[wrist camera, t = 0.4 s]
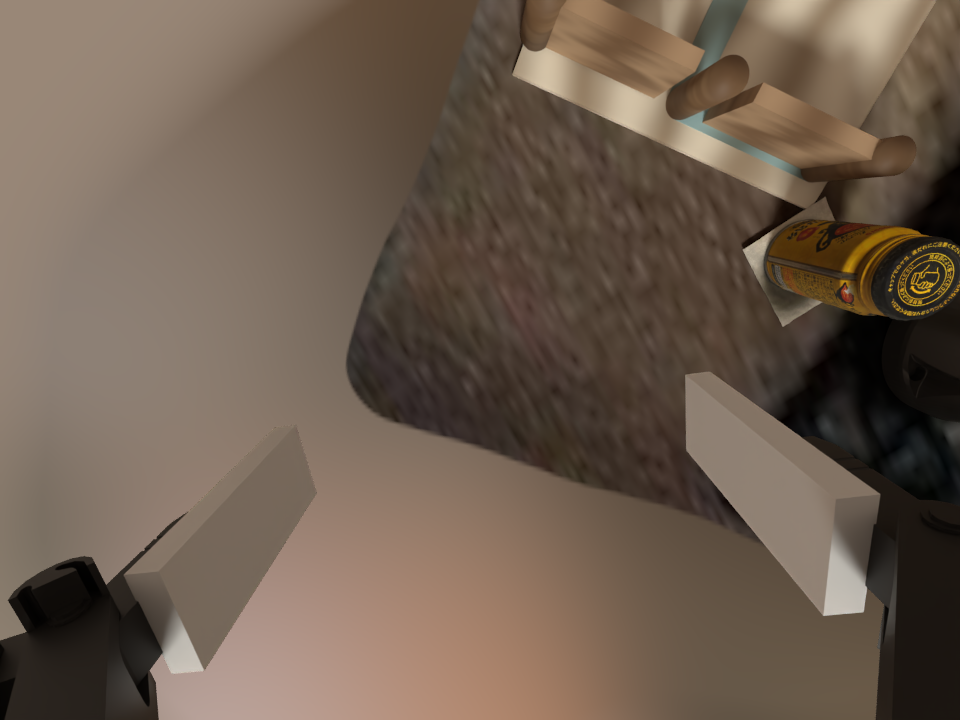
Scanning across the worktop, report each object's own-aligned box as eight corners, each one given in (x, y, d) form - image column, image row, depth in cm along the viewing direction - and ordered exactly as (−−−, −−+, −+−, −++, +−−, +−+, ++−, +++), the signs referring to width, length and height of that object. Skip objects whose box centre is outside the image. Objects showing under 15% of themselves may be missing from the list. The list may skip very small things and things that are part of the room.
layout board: (943, -18, 33) (949, -21, 32) (807, 210, 38) (810, 210, 37) (612, -200, 29) (614, -206, 29) (512, 75, 35) (512, 73, 34)
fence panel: (665, 73, 34) (714, 37, 27) (650, 106, 35) (693, 79, 27) (527, 7, 33) (540, -50, 25) (514, 43, 33) (523, -3, 26)
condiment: (823, 196, 37) (970, 199, 26) (859, 279, 39) (1008, 314, 28) (741, 249, 38) (845, 274, 27) (780, 325, 41) (891, 377, 30)
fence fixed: (660, 112, 35) (705, 87, 28) (675, 80, 34) (726, 46, 27) (819, 187, 37) (900, 181, 30) (836, 157, 36) (924, 144, 29)
